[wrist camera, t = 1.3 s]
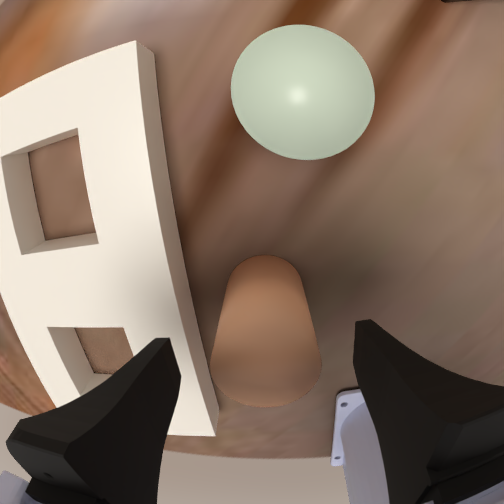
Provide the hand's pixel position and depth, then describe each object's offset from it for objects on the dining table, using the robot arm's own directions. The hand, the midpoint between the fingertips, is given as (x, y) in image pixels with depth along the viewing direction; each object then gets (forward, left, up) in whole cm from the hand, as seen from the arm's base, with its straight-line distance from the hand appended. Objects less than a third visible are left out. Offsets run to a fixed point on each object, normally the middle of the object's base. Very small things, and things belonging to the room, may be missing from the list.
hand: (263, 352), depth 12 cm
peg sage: (+9, -2, -6) cm, 11 cm away
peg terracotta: (0, 0, -6) cm, 6 cm away
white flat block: (+2, +10, -6) cm, 11 cm away
